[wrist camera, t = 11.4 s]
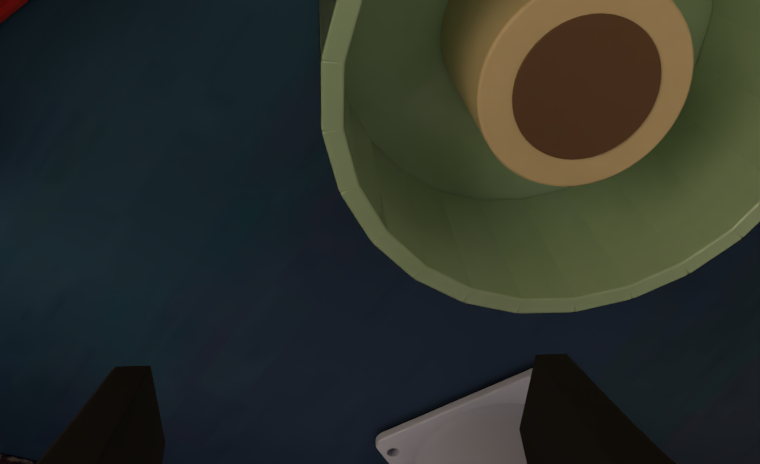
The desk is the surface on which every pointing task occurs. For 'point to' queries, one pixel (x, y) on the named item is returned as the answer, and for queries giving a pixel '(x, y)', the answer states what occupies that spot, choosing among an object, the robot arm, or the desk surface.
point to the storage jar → (13, 460)
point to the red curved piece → (9, 7)
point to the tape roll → (569, 81)
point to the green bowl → (524, 197)
